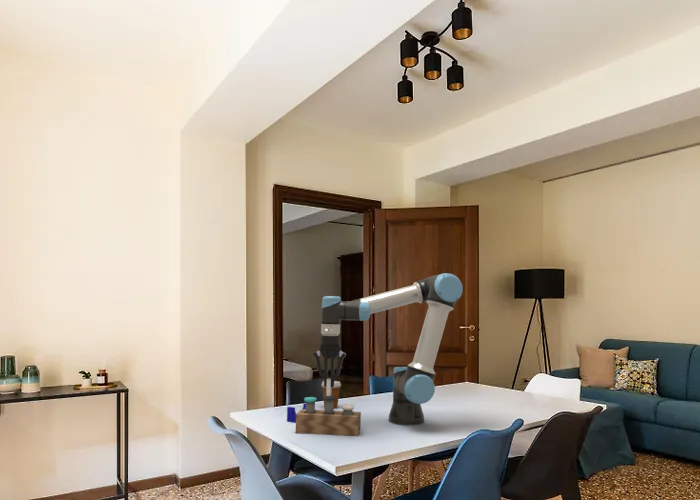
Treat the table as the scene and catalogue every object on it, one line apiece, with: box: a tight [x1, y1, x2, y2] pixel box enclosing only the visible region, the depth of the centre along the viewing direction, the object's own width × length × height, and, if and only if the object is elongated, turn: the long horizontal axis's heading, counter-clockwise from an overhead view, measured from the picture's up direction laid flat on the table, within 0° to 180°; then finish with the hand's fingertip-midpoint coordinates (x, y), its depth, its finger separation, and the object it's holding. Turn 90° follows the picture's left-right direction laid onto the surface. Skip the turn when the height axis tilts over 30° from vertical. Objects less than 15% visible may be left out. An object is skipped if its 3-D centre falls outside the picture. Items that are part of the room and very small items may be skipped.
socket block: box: [295, 408, 362, 437], centre depth 204 cm, size 24×10×7 cm, turn 82°
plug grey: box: [341, 403, 355, 415], centre depth 203 cm, size 5×5×9 cm
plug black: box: [322, 395, 335, 414], centre depth 204 cm, size 5×5×9 cm
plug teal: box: [303, 396, 318, 414], centre depth 205 cm, size 5×5×9 cm
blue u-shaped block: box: [286, 402, 306, 424], centre depth 223 cm, size 12×4×6 cm, turn 144°
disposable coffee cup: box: [321, 380, 342, 409], centre depth 250 cm, size 10×10×12 cm
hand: (328, 395), depth 205 cm, fingers closed
